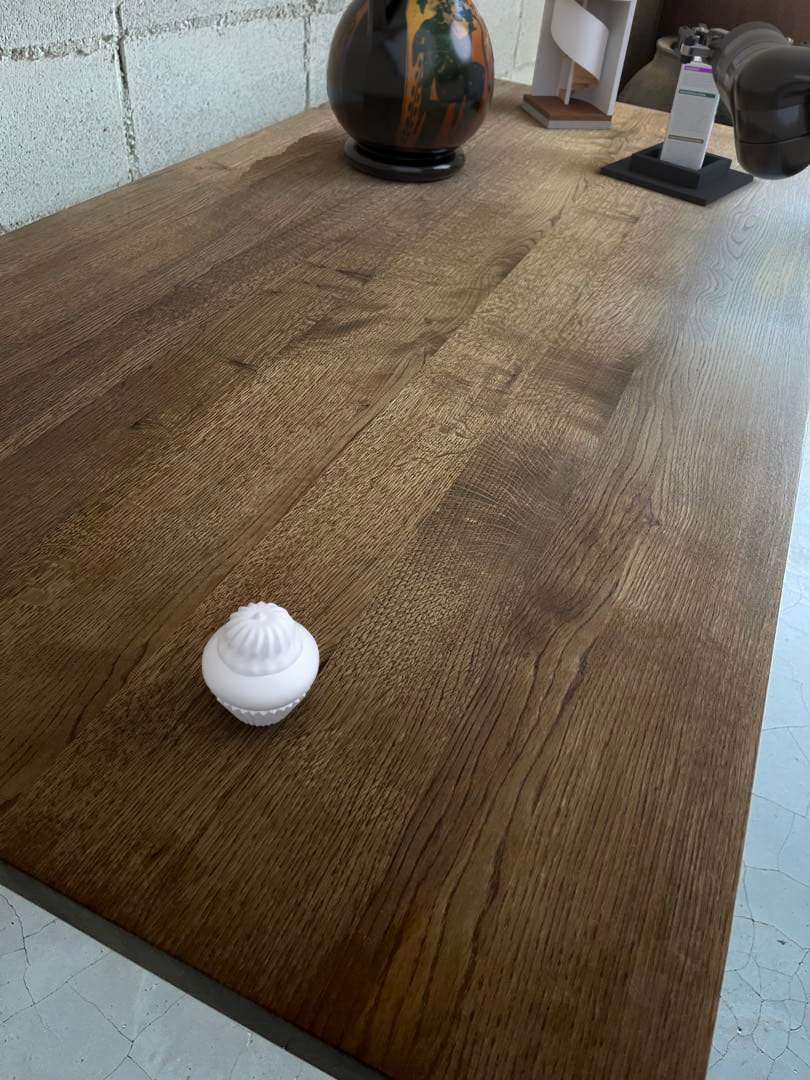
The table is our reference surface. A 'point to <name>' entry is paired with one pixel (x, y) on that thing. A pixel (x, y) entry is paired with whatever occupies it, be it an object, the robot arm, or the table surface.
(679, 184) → the dock pad
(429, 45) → the amphora vase
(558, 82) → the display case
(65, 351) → the table surface
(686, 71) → the syrup box
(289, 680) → the muffin
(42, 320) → the table surface
